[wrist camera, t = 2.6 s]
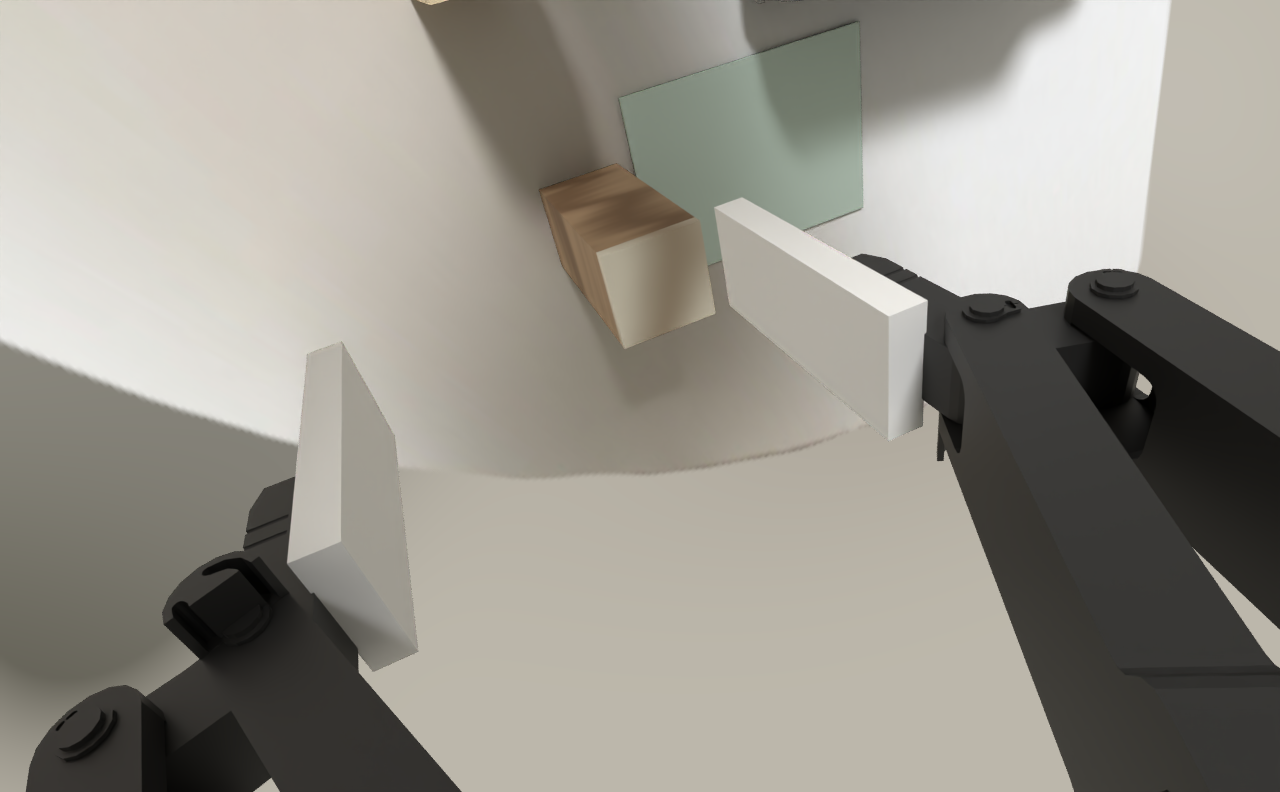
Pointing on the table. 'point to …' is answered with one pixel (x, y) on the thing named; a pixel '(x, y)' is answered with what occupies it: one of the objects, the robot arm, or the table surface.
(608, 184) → the walnut block
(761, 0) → the toy van
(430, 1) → the maple block
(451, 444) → the table surface
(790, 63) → the felt mat
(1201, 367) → the robot arm
